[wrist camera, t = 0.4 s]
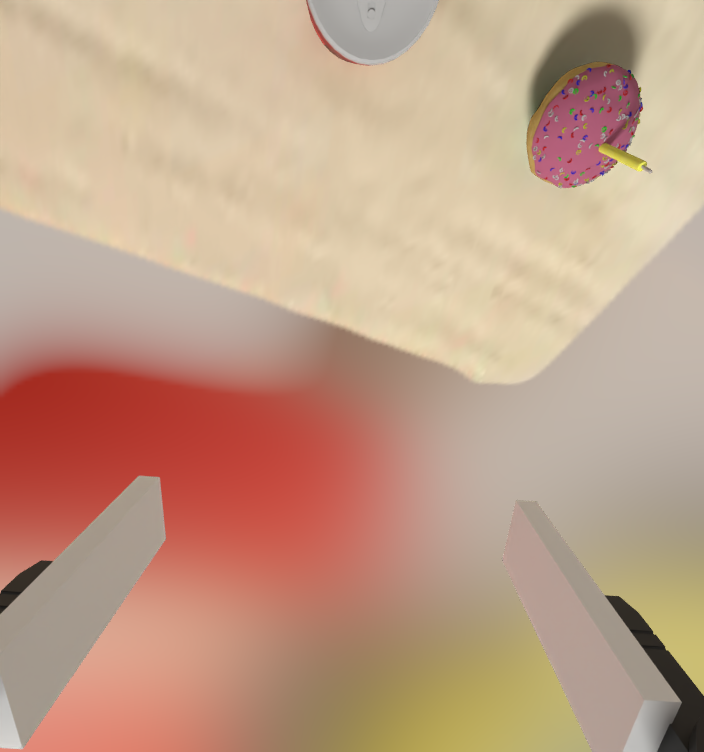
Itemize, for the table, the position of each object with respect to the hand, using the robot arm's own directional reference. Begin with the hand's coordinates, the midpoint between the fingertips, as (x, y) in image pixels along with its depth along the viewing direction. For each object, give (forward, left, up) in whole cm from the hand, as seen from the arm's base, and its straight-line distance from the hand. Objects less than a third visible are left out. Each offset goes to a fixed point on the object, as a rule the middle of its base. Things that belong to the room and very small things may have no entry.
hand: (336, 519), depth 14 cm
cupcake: (+8, +22, -32) cm, 40 cm away
